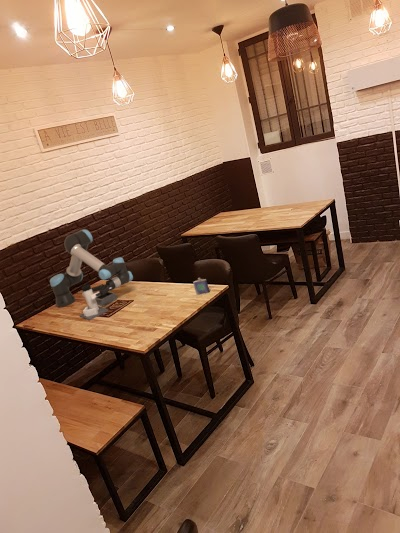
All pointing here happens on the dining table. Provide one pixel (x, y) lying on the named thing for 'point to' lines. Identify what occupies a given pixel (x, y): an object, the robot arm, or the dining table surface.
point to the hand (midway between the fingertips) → (86, 296)
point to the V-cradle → (92, 312)
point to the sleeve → (106, 298)
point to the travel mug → (89, 297)
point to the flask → (201, 286)
